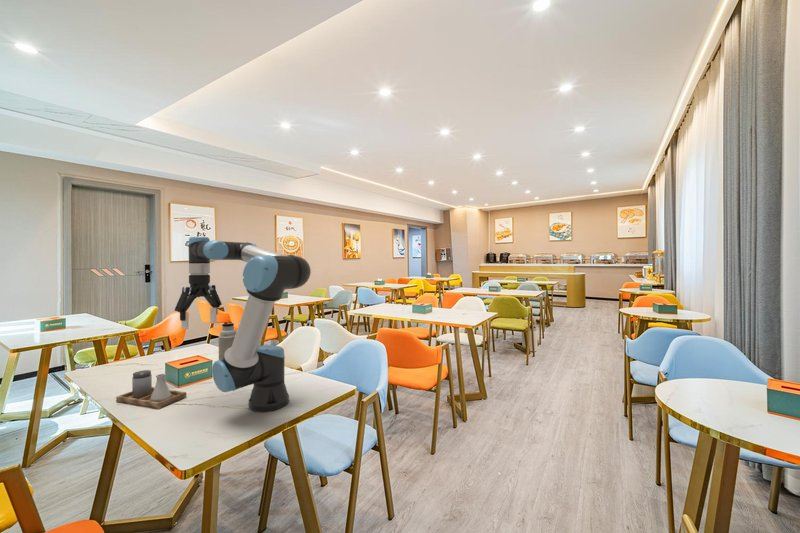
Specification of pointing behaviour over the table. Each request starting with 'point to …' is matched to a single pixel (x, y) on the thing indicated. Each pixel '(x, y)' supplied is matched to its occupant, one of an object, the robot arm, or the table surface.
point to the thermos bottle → (226, 338)
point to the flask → (160, 390)
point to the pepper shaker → (141, 384)
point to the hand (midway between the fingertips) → (199, 325)
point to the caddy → (146, 400)
